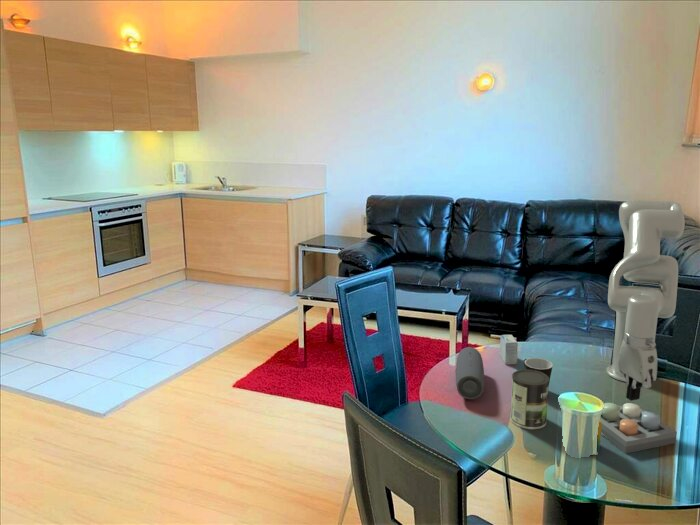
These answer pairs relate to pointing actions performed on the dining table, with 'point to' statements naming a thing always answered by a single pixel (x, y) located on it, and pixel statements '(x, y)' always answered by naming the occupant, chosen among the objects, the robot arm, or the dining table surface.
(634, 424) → the button terracotta
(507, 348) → the medicine box
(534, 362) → the coffee mug
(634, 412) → the button cream
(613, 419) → the button sage
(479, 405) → the dining table surface
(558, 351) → the dining table surface
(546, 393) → the coffee can
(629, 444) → the grey square tray
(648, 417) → the button slate
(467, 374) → the bluetooth speaker
